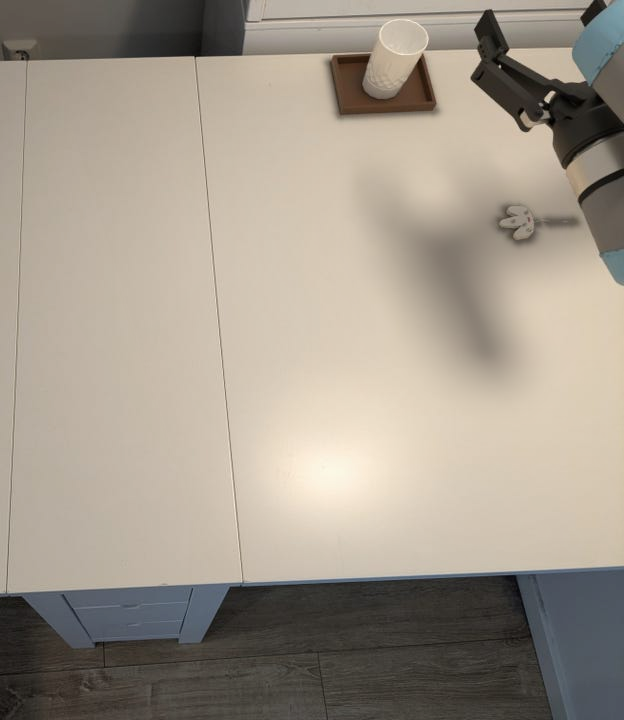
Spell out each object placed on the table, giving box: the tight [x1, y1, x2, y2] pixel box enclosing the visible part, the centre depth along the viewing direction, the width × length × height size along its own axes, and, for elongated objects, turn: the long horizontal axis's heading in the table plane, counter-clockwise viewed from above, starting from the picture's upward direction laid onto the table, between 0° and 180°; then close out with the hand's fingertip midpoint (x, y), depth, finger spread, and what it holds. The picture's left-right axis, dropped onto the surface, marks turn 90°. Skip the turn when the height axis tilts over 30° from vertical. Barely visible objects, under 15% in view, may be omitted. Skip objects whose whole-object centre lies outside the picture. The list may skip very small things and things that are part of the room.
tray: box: [330, 52, 438, 116], centre depth 99 cm, size 12×16×2 cm
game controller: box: [498, 205, 569, 240], centre depth 90 cm, size 6×12×3 cm, turn 109°
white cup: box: [362, 18, 430, 99], centre depth 95 cm, size 8×8×10 cm
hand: (536, 13), depth 68 cm, fingers open, 13 cm apart
